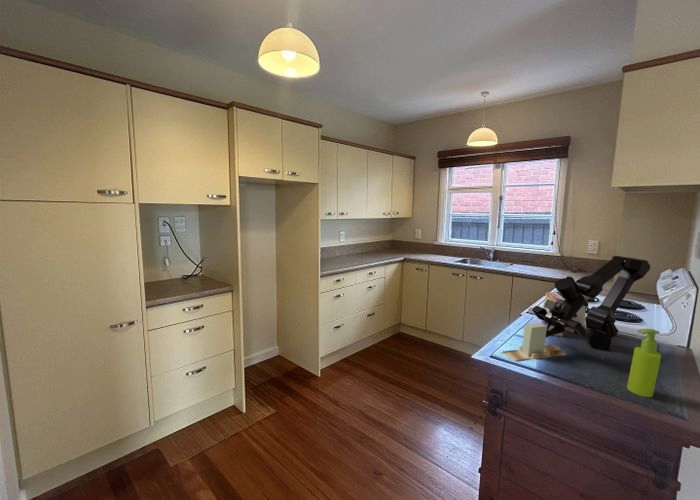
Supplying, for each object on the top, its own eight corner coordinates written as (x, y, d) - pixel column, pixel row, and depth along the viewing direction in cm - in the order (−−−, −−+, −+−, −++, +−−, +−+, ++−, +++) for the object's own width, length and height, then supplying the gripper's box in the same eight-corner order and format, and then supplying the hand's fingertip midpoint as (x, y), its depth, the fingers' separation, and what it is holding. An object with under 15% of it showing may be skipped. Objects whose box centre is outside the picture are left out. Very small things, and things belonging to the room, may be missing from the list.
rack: (549, 347, 124) (550, 341, 123) (566, 356, 117) (567, 350, 117) (500, 354, 117) (501, 348, 117) (515, 364, 110) (516, 357, 110)
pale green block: (536, 350, 119) (540, 322, 117) (543, 354, 116) (547, 326, 114) (521, 352, 117) (525, 324, 115) (528, 356, 114) (531, 327, 113)
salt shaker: (588, 333, 139) (595, 291, 136) (574, 334, 137) (581, 292, 134) (573, 326, 146) (579, 286, 143) (560, 327, 144) (566, 287, 141)
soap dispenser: (618, 385, 99) (630, 325, 96) (639, 385, 100) (651, 325, 97) (637, 397, 94) (650, 334, 90) (658, 397, 94) (671, 334, 91)
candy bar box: (540, 325, 146) (545, 291, 143) (552, 326, 145) (557, 292, 142) (550, 335, 135) (555, 299, 132) (563, 337, 134) (569, 300, 131)
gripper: (538, 285, 124) (512, 314, 123) (585, 301, 107) (555, 334, 105) (551, 303, 128) (526, 331, 127) (598, 321, 110) (569, 354, 109)
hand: (542, 337), depth 117 cm, fingers closed
